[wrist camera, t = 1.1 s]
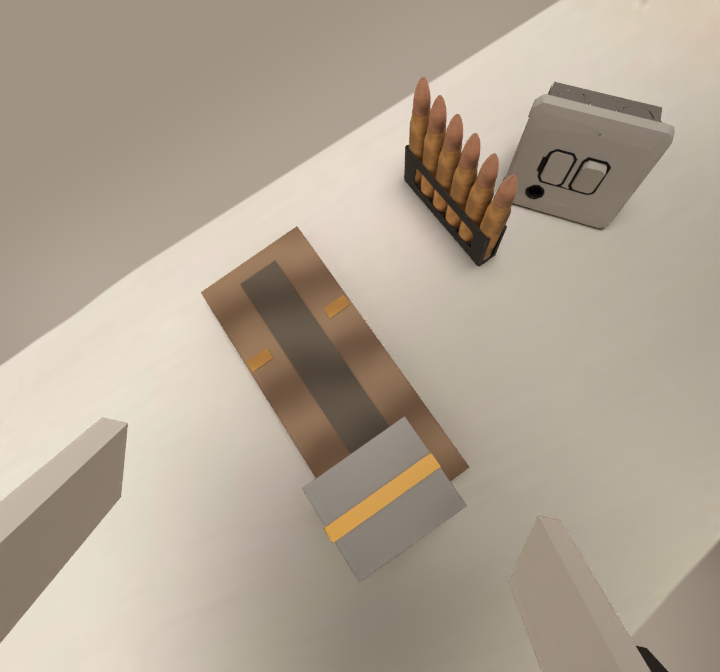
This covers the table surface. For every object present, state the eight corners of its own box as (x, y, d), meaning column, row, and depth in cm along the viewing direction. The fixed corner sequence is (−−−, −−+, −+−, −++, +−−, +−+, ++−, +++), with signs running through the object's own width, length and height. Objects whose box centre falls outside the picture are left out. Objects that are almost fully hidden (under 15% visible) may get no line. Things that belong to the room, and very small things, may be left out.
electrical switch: (495, 200, 38) (527, 120, 29) (512, 153, 39) (548, 62, 30) (603, 232, 36) (673, 158, 27) (617, 182, 37) (689, 95, 28)
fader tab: (447, 477, 31) (468, 506, 21) (374, 528, 31) (357, 584, 21) (405, 417, 32) (405, 415, 22) (334, 466, 32) (300, 489, 22)
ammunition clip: (403, 179, 39) (402, 76, 27) (419, 167, 39) (425, 59, 27) (478, 267, 37) (512, 196, 25) (495, 254, 37) (537, 177, 25)
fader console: (465, 464, 34) (469, 467, 32) (361, 538, 33) (358, 546, 31) (302, 235, 39) (296, 225, 37) (211, 298, 39) (200, 292, 37)
